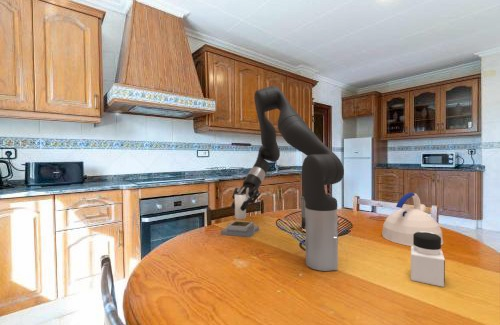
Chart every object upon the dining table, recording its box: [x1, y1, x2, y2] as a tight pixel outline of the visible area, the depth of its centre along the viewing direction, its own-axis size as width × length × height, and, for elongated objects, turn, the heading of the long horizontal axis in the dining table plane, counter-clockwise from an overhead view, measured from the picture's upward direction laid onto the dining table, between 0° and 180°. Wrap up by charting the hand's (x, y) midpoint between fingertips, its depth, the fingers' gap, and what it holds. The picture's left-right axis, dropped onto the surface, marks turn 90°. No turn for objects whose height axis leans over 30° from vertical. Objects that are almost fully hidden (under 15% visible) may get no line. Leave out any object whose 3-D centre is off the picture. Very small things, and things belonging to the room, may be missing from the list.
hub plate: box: [220, 220, 260, 238], centre depth 113 cm, size 13×12×4 cm
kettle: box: [381, 192, 444, 247], centre depth 101 cm, size 20×21×18 cm
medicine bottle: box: [410, 232, 446, 288], centre depth 68 cm, size 7×7×12 cm
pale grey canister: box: [234, 193, 247, 220], centre depth 113 cm, size 5×5×10 cm
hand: (237, 208), depth 111 cm, fingers closed on pale grey canister, 4 cm apart
